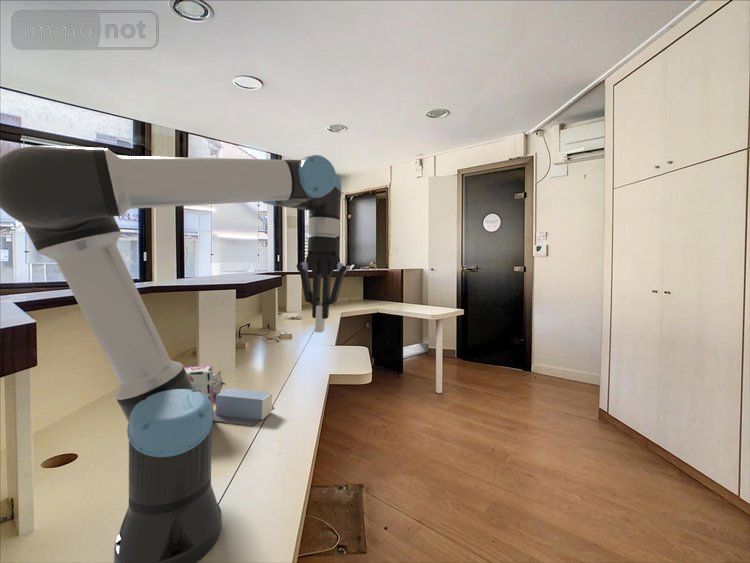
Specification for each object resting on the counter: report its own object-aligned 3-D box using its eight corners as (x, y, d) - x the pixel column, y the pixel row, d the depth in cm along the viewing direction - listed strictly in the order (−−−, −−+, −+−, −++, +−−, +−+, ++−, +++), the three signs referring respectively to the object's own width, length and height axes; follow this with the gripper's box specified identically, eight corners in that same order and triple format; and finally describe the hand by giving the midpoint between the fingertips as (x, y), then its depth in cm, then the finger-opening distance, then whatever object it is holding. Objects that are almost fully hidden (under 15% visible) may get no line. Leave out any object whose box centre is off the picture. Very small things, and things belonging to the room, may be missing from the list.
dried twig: (213, 408, 116) (211, 391, 110) (193, 396, 117) (189, 379, 111) (231, 388, 123) (230, 371, 117) (212, 378, 124) (210, 361, 118)
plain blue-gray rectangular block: (263, 399, 99) (216, 395, 101) (262, 419, 99) (215, 414, 102) (272, 392, 105) (227, 388, 107) (271, 411, 105) (227, 406, 108)
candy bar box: (213, 418, 99) (213, 365, 97) (210, 427, 94) (209, 372, 92) (171, 421, 96) (169, 366, 94) (165, 431, 91) (163, 374, 89)
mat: (253, 426, 96) (253, 424, 96) (201, 420, 99) (201, 419, 99) (273, 407, 109) (273, 406, 109) (227, 403, 111) (227, 401, 111)
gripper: (352, 239, 86) (348, 330, 87) (304, 237, 88) (300, 327, 89) (345, 236, 79) (341, 336, 80) (292, 234, 81) (288, 331, 82)
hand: (319, 331), depth 85 cm, fingers closed
